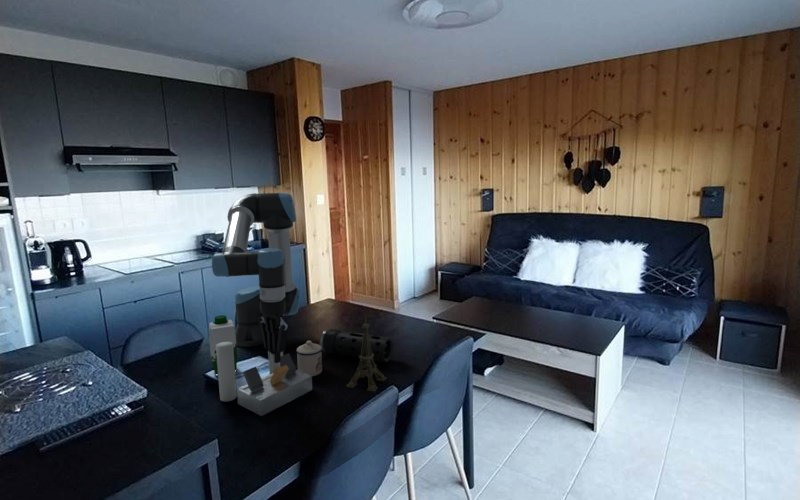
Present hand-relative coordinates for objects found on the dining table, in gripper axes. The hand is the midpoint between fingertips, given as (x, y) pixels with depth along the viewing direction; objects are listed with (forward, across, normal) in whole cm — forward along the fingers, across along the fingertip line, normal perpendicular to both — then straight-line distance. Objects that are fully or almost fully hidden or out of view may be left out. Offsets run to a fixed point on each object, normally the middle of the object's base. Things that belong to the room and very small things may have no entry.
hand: (275, 371), depth 138 cm
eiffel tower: (+9, +16, +26) cm, 32 cm away
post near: (+10, -13, -9) cm, 19 cm away
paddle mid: (+4, -1, +1) cm, 5 cm away
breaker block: (+9, -1, +1) cm, 9 cm away
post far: (+9, -13, +10) cm, 19 cm away
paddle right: (+4, -1, +7) cm, 9 cm away
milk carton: (+10, -32, +2) cm, 34 cm away
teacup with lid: (+9, -7, +21) cm, 24 cm away
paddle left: (+4, -1, -6) cm, 7 cm away
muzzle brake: (+9, -1, +39) cm, 40 cm away
